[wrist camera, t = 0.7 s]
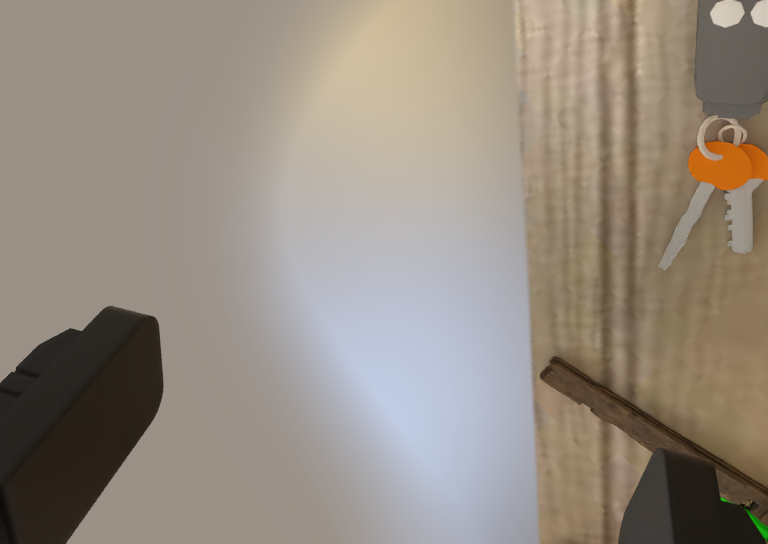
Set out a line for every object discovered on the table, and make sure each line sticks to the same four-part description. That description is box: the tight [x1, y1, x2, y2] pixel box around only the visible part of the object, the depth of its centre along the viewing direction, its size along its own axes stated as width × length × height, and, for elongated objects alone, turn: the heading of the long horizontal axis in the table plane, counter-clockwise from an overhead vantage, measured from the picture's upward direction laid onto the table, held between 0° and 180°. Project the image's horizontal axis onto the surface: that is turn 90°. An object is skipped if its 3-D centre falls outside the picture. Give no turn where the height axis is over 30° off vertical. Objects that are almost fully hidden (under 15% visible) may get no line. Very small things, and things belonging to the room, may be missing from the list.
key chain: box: [658, 0, 768, 271], centre depth 29 cm, size 13×4×2 cm, turn 1°
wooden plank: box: [540, 358, 768, 527], centre depth 34 cm, size 13×1×1 cm, turn 63°
